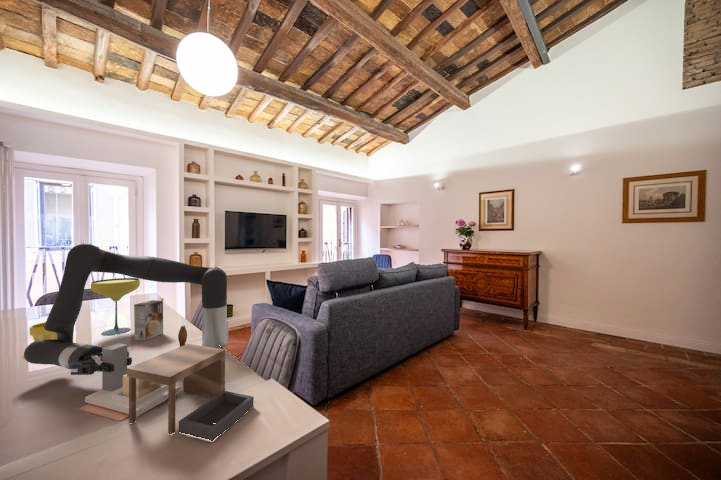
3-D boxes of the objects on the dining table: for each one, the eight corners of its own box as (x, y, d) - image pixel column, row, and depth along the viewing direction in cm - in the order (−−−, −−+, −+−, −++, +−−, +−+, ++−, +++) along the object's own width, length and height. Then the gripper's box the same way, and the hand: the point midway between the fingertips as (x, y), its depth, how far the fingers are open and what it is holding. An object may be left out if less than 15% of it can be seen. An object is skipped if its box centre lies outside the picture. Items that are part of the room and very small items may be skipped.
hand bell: (170, 370, 98) (170, 324, 98) (197, 365, 101) (197, 321, 101) (164, 381, 90) (164, 331, 90) (194, 376, 94) (194, 328, 94)
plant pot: (24, 349, 115) (24, 325, 115) (59, 341, 124) (59, 319, 124) (36, 353, 111) (36, 329, 111) (71, 344, 120) (71, 321, 120)
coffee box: (152, 333, 136) (152, 299, 136) (163, 334, 134) (163, 300, 134) (133, 339, 127) (133, 304, 126) (145, 340, 125) (145, 304, 125)
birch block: (145, 386, 83) (145, 366, 83) (160, 389, 81) (160, 369, 81) (122, 397, 77) (122, 375, 77) (138, 401, 76) (138, 378, 76)
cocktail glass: (132, 323, 150) (133, 277, 149) (145, 330, 139) (145, 280, 139) (86, 332, 135) (86, 281, 135) (95, 341, 124) (96, 284, 124)
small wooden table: (187, 389, 85) (187, 343, 85) (224, 397, 81) (225, 349, 81) (126, 424, 69) (126, 368, 69) (169, 437, 65) (169, 377, 65)
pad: (140, 380, 91) (140, 379, 91) (178, 388, 86) (178, 388, 86) (78, 409, 75) (78, 408, 75) (120, 421, 71) (120, 420, 71)
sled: (131, 381, 89) (132, 338, 89) (180, 391, 83) (180, 346, 83) (85, 402, 77) (85, 353, 77) (137, 416, 72) (137, 363, 71)
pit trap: (223, 401, 80) (223, 390, 80) (253, 407, 77) (253, 396, 77) (178, 433, 66) (178, 421, 66) (212, 443, 63) (212, 430, 63)
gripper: (51, 354, 80) (92, 362, 75) (109, 337, 94) (146, 343, 89) (51, 380, 80) (92, 390, 75) (109, 359, 94) (146, 367, 89)
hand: (121, 364), depth 82 cm, fingers closed on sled, 4 cm apart
